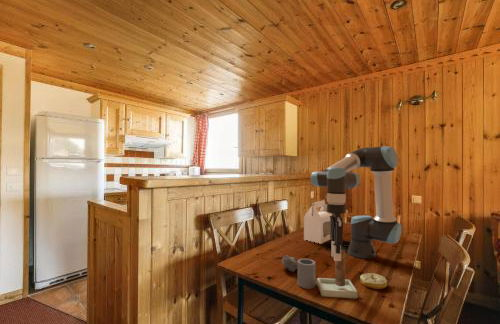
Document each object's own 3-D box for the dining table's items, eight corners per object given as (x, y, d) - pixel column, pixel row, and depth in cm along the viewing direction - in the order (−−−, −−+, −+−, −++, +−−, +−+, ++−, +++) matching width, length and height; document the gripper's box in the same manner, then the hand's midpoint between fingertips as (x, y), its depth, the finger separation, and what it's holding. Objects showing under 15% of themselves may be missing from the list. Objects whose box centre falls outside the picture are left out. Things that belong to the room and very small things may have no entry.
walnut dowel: (343, 283, 105) (347, 249, 105) (346, 287, 101) (350, 253, 101) (330, 281, 105) (334, 247, 106) (332, 285, 101) (336, 251, 102)
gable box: (318, 234, 193) (318, 198, 193) (334, 237, 184) (334, 200, 184) (303, 240, 176) (303, 201, 177) (320, 244, 167) (320, 203, 168)
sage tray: (349, 285, 108) (349, 279, 108) (357, 298, 97) (357, 292, 97) (317, 283, 109) (317, 277, 110) (321, 296, 99) (321, 289, 99)
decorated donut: (358, 278, 116) (358, 270, 116) (384, 281, 112) (384, 273, 113) (362, 288, 106) (361, 279, 106) (389, 292, 103) (389, 283, 103)
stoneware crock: (313, 281, 112) (313, 259, 112) (316, 289, 104) (316, 265, 105) (296, 280, 113) (297, 258, 113) (298, 287, 105) (298, 264, 105)
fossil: (305, 271, 122) (305, 255, 122) (293, 277, 116) (293, 260, 116) (288, 265, 130) (288, 250, 130) (276, 269, 124) (276, 253, 125)
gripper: (323, 200, 113) (323, 251, 112) (331, 206, 96) (331, 265, 96) (340, 201, 112) (340, 252, 112) (351, 206, 95) (351, 267, 95)
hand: (336, 258), depth 104 cm, fingers closed on walnut dowel, 4 cm apart
